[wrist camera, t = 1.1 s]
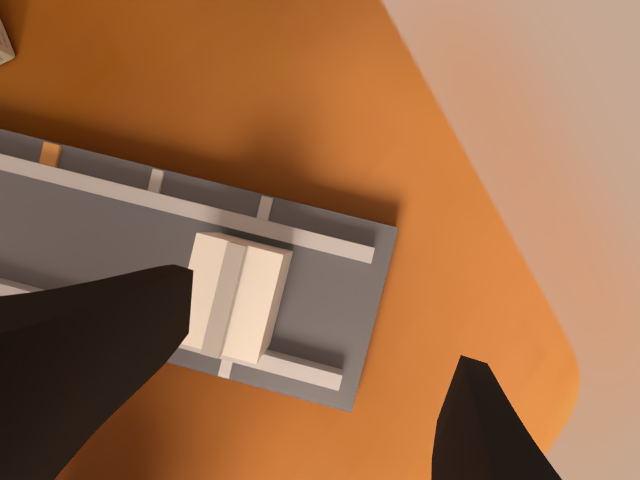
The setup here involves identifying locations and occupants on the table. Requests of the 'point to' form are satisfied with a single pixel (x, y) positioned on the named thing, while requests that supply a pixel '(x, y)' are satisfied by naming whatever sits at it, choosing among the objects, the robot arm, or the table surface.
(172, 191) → the gray slider track
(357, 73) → the table surface
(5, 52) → the skincare box
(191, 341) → the fader tab
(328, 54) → the table surface
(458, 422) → the robot arm
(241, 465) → the table surface
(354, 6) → the table surface
